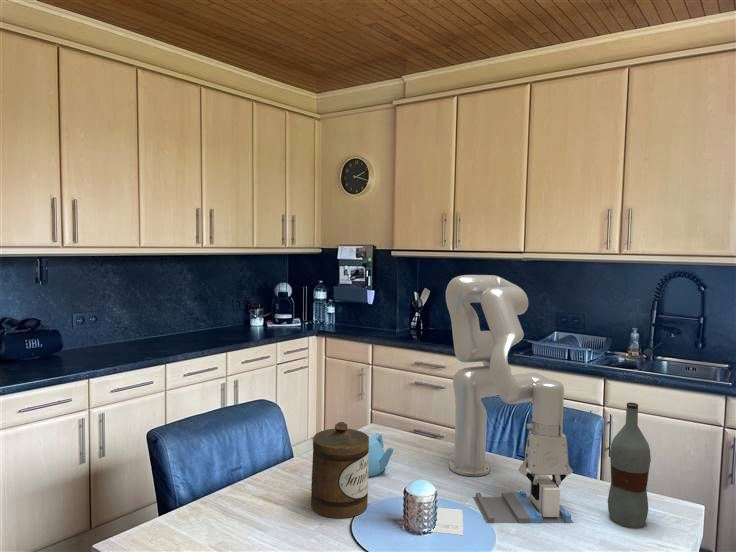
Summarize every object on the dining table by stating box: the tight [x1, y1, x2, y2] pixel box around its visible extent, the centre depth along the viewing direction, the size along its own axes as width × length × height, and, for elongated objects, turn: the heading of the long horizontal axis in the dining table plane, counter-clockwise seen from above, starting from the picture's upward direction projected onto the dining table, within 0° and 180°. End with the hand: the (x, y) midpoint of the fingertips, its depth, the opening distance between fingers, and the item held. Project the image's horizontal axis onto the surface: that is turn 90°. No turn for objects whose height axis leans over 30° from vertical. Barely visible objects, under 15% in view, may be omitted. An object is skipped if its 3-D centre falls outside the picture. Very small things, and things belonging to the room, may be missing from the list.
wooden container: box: [310, 421, 370, 519], centre depth 142 cm, size 15×15×22 cm
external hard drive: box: [429, 507, 464, 536], centre depth 134 cm, size 2×8×12 cm
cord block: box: [529, 475, 561, 517], centre depth 141 cm, size 10×4×7 cm, turn 3°
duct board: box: [472, 490, 575, 524], centre depth 140 cm, size 14×22×3 cm, turn 92°
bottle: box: [607, 401, 652, 529], centre depth 137 cm, size 9×9×30 cm
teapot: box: [366, 432, 394, 478], centre depth 165 cm, size 15×15×11 cm
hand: (544, 497), depth 141 cm, fingers closed on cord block, 4 cm apart
